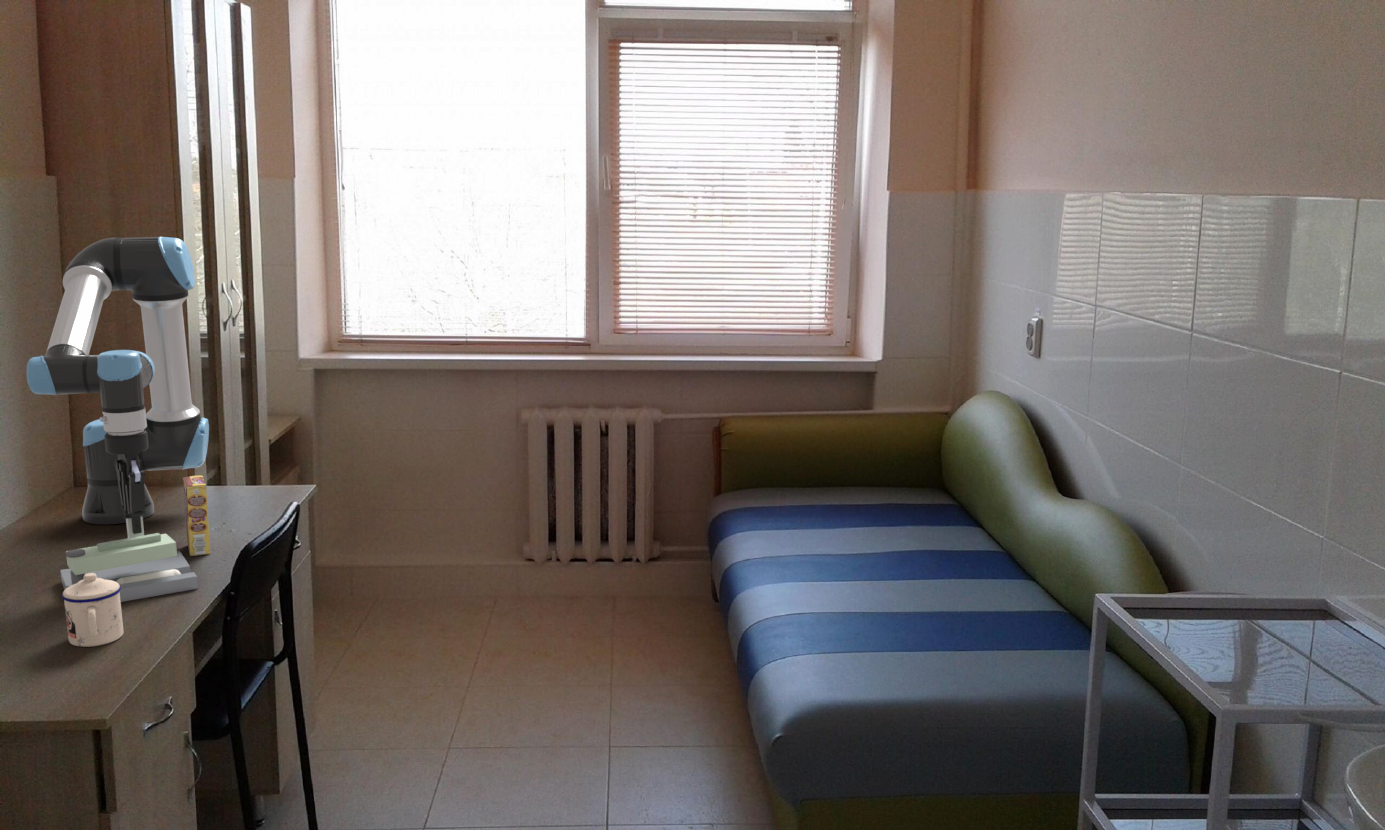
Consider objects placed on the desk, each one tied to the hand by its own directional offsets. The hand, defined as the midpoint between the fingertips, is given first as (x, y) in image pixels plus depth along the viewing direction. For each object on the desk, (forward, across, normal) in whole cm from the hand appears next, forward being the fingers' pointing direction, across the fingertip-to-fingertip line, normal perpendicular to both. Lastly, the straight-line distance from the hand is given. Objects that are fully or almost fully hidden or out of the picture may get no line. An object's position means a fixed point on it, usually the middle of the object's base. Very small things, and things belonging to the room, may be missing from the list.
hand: (137, 547), depth 237 cm
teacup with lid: (+7, +28, -14) cm, 32 cm away
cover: (+1, +5, -4) cm, 6 cm away
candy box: (+7, -12, +15) cm, 21 cm away
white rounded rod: (+5, +6, 0) cm, 8 cm away
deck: (+7, +2, -2) cm, 7 cm away
